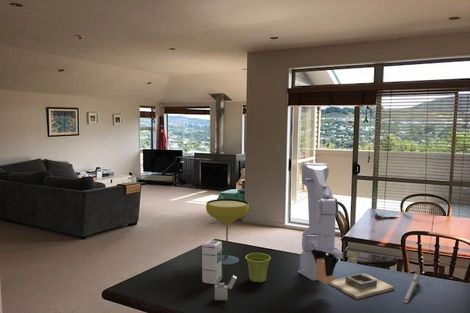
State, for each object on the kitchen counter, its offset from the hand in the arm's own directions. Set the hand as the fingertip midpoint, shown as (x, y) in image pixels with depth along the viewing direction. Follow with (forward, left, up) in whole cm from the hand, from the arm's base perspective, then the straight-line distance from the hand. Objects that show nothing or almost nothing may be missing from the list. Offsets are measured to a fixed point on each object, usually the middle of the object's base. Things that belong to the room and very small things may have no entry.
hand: (324, 273), depth 125 cm
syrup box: (-27, -30, -8) cm, 41 cm away
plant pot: (-21, -14, -8) cm, 26 cm away
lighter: (-11, -32, -8) cm, 35 cm away
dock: (0, +17, -8) cm, 19 cm away
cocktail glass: (-44, -16, -8) cm, 47 cm away
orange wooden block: (0, 0, -2) cm, 2 cm away
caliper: (+11, +30, -8) cm, 33 cm away
